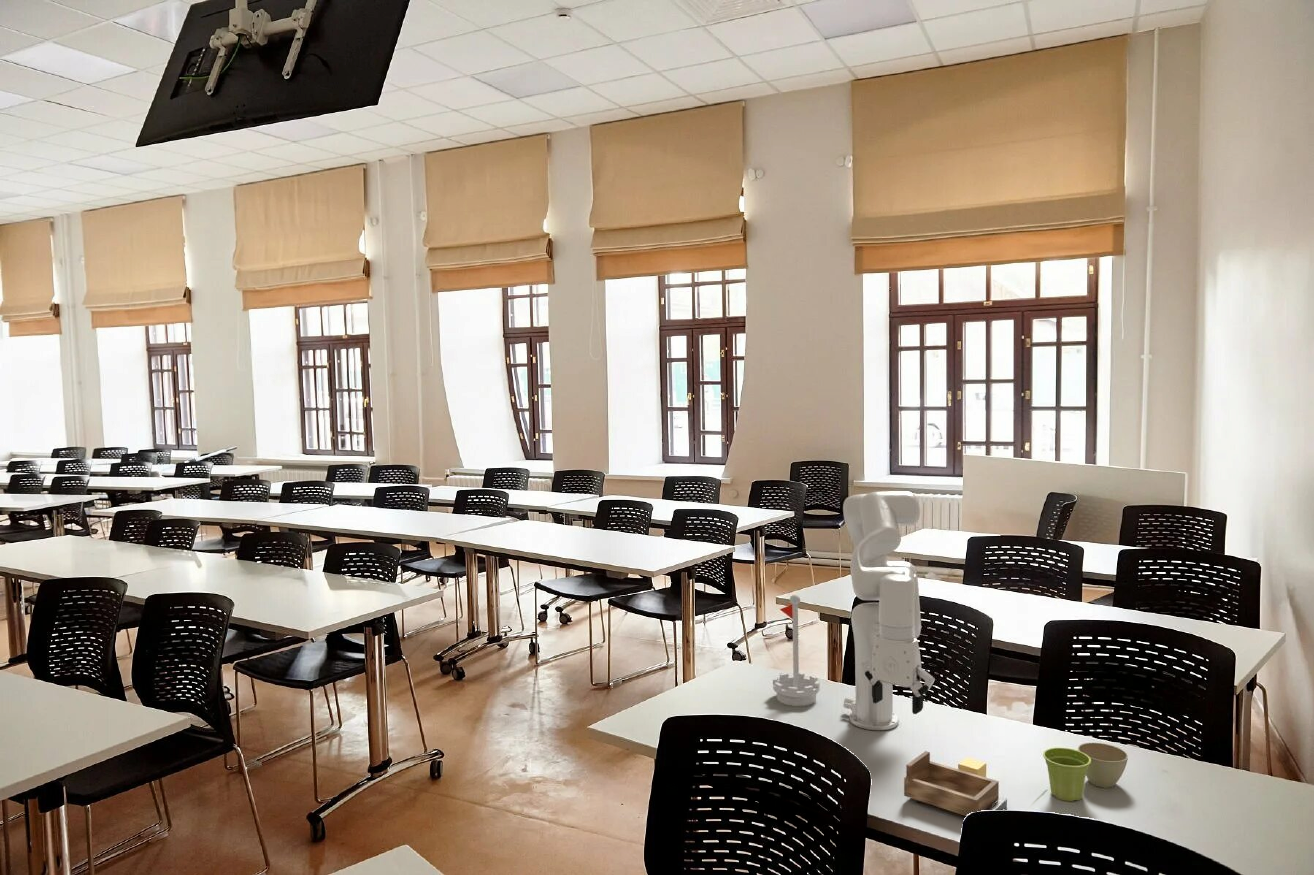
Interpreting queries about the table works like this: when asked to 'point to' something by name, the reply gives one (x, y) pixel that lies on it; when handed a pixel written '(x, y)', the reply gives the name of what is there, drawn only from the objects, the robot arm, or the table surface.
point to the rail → (999, 804)
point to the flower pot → (1104, 763)
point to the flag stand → (795, 670)
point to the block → (973, 766)
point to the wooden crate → (948, 786)
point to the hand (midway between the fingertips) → (897, 706)
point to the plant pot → (1066, 772)
